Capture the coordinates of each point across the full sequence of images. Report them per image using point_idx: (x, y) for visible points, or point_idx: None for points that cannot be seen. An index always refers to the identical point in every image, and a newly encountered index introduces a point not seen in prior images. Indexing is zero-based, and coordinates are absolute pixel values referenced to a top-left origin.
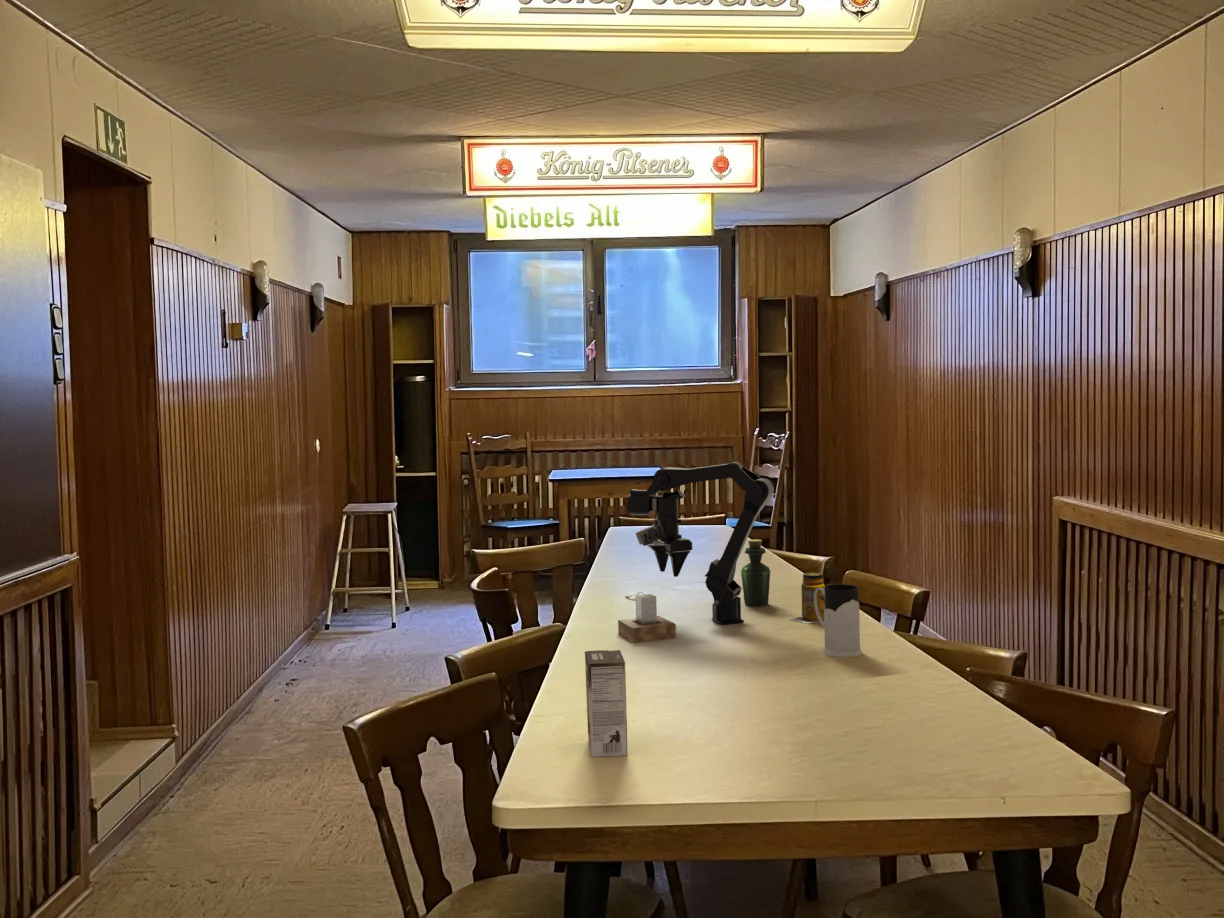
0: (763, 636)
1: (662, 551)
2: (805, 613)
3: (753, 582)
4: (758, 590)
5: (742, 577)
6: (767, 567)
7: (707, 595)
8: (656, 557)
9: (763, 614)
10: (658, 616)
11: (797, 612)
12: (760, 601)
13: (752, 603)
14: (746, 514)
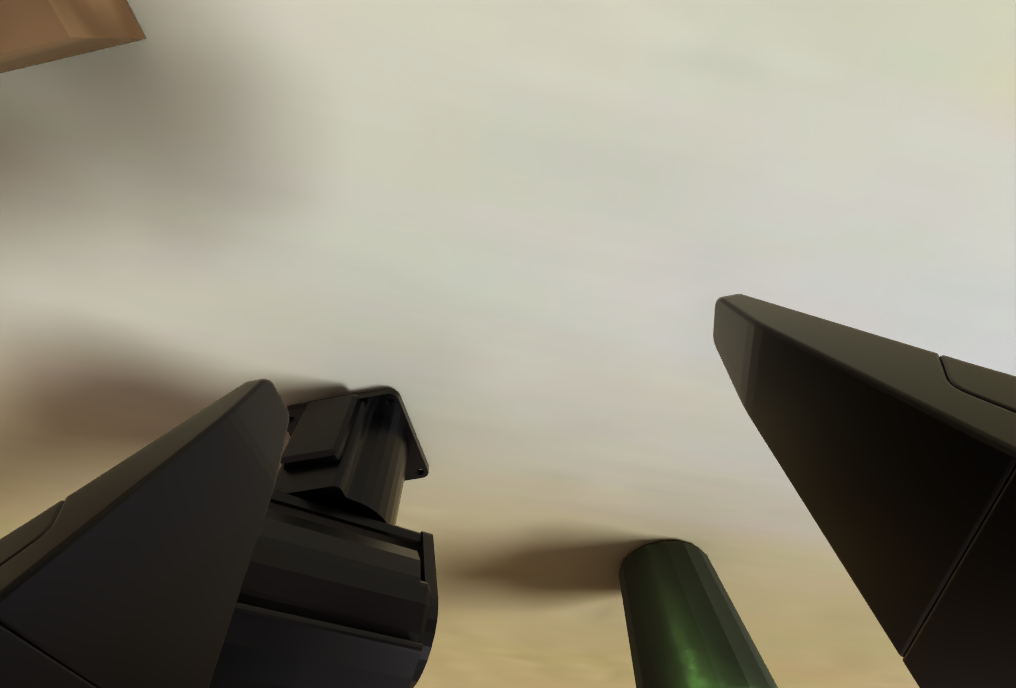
0: (46, 493)
1: (984, 602)
2: None
3: (647, 658)
4: (631, 629)
5: (716, 657)
6: None
7: None
8: (967, 375)
9: (473, 554)
10: (34, 27)
11: (475, 622)
12: (621, 587)
13: (632, 562)
14: None
